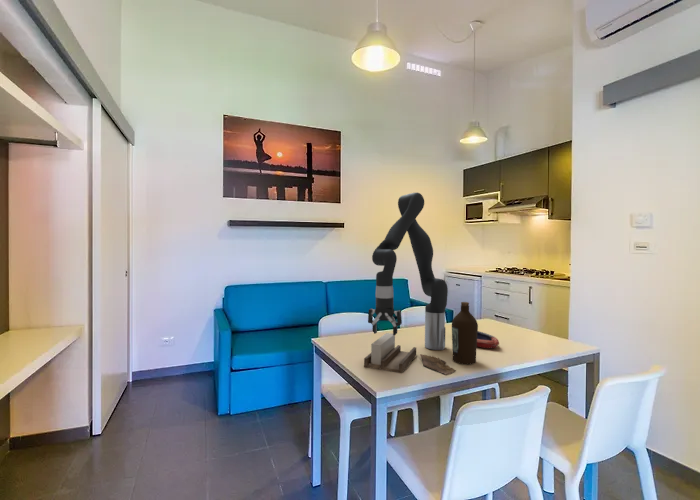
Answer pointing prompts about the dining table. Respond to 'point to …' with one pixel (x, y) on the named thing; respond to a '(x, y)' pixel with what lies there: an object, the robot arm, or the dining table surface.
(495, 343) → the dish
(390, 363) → the rack
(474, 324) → the olive oil
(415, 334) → the dining table surface
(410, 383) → the dining table surface
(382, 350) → the gray rectangular block
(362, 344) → the dining table surface
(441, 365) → the wooden fragment
